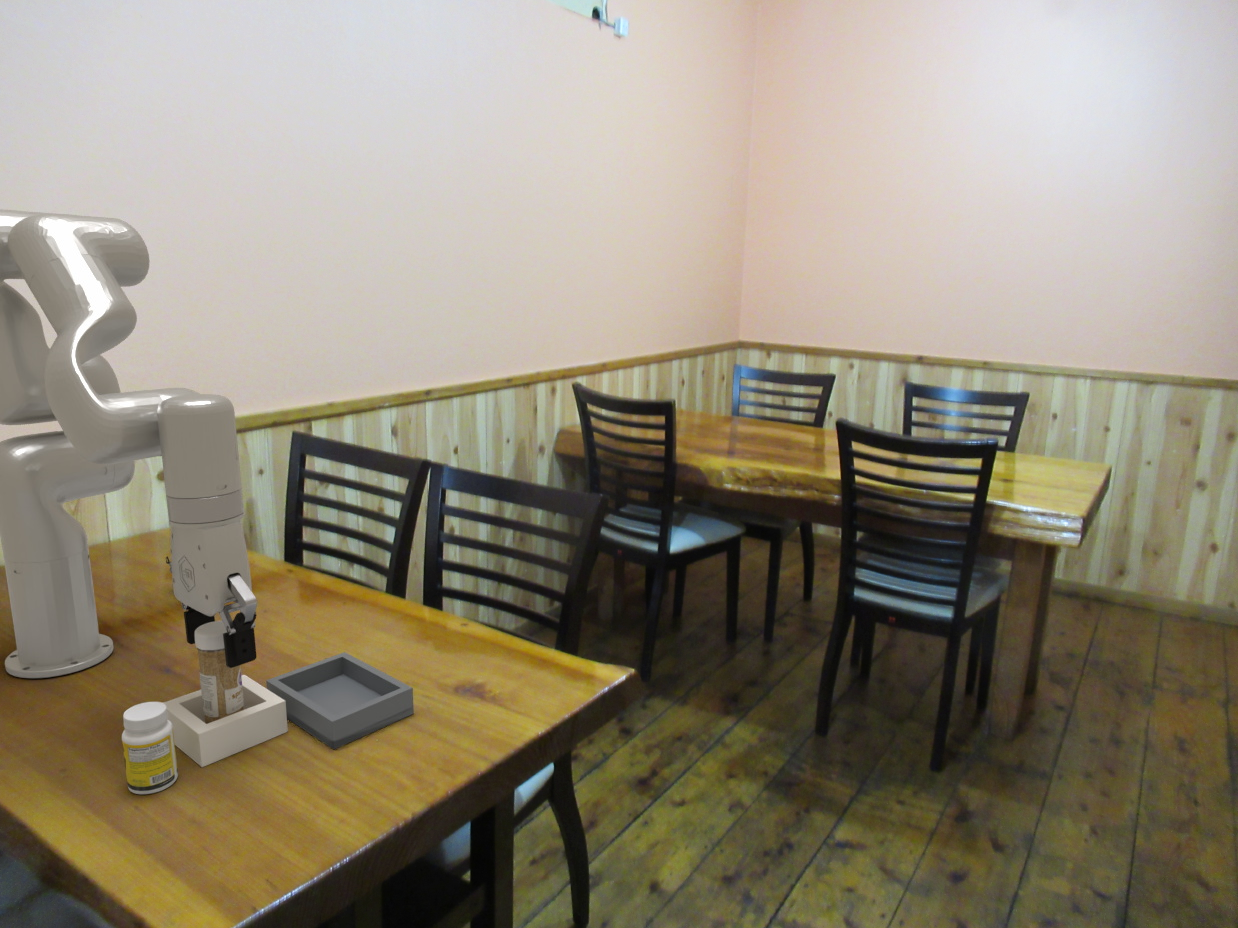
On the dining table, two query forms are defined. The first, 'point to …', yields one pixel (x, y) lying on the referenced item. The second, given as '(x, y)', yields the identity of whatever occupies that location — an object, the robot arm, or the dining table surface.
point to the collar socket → (226, 724)
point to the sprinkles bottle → (217, 674)
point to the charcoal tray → (342, 699)
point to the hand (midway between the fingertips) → (221, 651)
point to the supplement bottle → (149, 748)
